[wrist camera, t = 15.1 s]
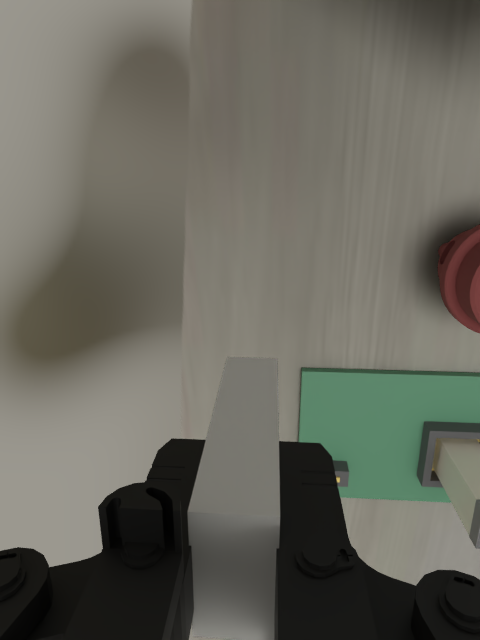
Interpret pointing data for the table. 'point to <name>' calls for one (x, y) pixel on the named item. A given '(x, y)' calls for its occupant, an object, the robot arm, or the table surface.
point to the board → (387, 426)
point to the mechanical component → (461, 277)
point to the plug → (461, 479)
